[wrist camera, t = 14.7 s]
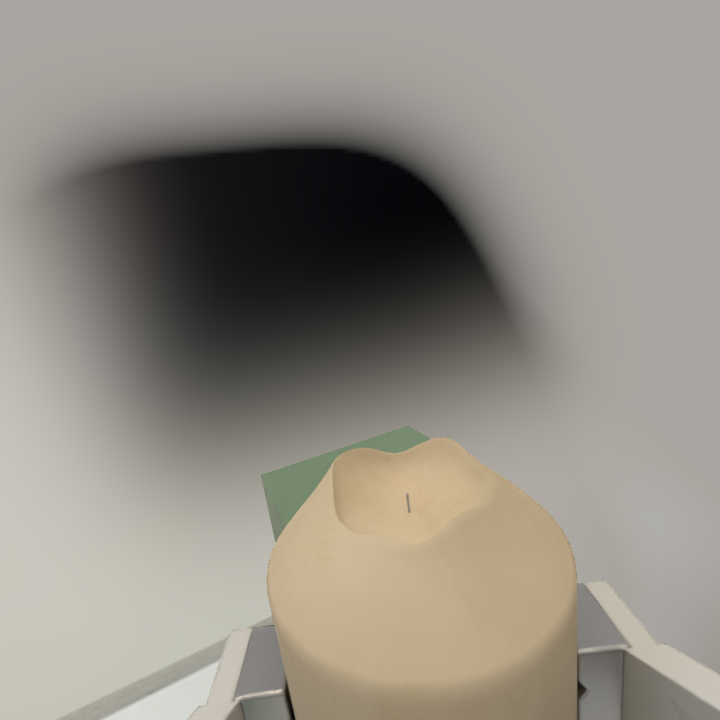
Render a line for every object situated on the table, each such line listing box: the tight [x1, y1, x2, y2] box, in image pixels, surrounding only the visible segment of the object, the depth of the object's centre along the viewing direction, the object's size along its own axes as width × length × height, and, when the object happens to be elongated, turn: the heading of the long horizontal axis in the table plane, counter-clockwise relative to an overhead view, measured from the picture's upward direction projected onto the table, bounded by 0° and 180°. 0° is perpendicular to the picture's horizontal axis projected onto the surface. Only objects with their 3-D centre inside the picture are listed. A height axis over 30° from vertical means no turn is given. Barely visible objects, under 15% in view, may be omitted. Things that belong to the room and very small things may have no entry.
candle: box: [267, 437, 577, 720], centre depth 9 cm, size 6×6×10 cm
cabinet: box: [261, 426, 430, 542], centre depth 33 cm, size 9×14×17 cm, turn 115°
